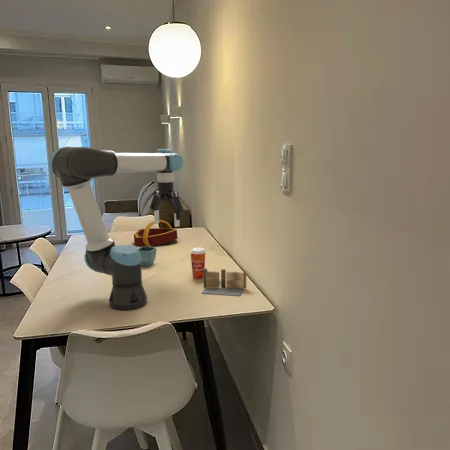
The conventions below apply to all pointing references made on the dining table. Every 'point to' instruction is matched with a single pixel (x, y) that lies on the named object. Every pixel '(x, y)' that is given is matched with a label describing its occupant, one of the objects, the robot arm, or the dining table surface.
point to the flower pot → (147, 255)
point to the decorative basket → (155, 235)
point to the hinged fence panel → (236, 279)
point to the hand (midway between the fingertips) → (166, 225)
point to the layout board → (223, 290)
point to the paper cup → (198, 262)
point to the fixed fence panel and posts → (214, 278)
